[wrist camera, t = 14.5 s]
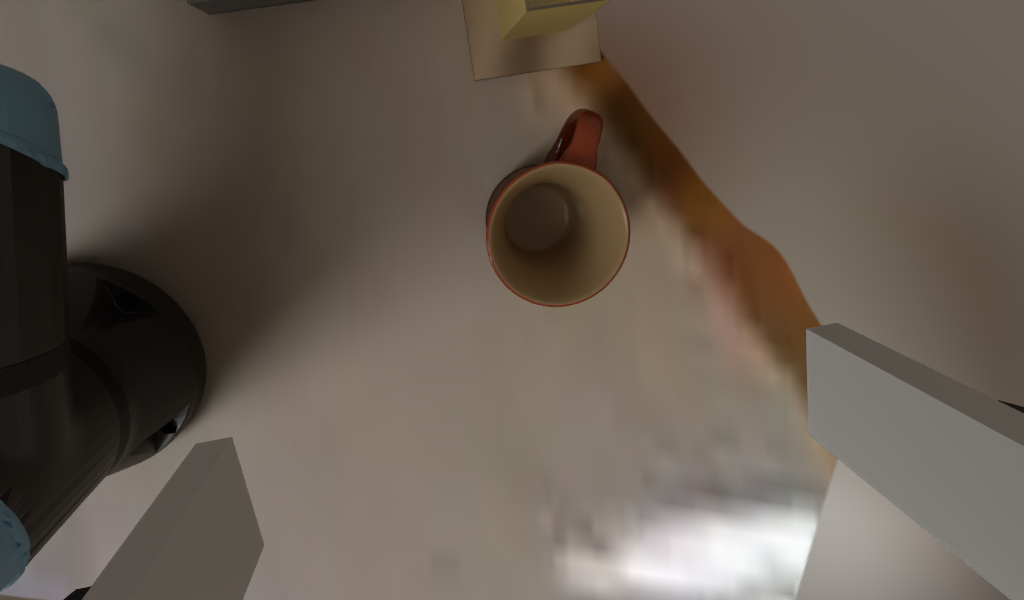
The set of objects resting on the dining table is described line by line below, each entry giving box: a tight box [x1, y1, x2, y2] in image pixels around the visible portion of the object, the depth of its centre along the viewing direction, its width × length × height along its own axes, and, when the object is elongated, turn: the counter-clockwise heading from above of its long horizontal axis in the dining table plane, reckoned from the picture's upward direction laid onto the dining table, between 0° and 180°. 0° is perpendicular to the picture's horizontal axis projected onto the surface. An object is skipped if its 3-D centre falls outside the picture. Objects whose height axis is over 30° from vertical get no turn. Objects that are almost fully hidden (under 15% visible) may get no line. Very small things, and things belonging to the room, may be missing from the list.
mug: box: [486, 109, 630, 307], centre depth 43 cm, size 12×9×10 cm
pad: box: [462, 0, 601, 81], centre depth 44 cm, size 9×9×1 cm
